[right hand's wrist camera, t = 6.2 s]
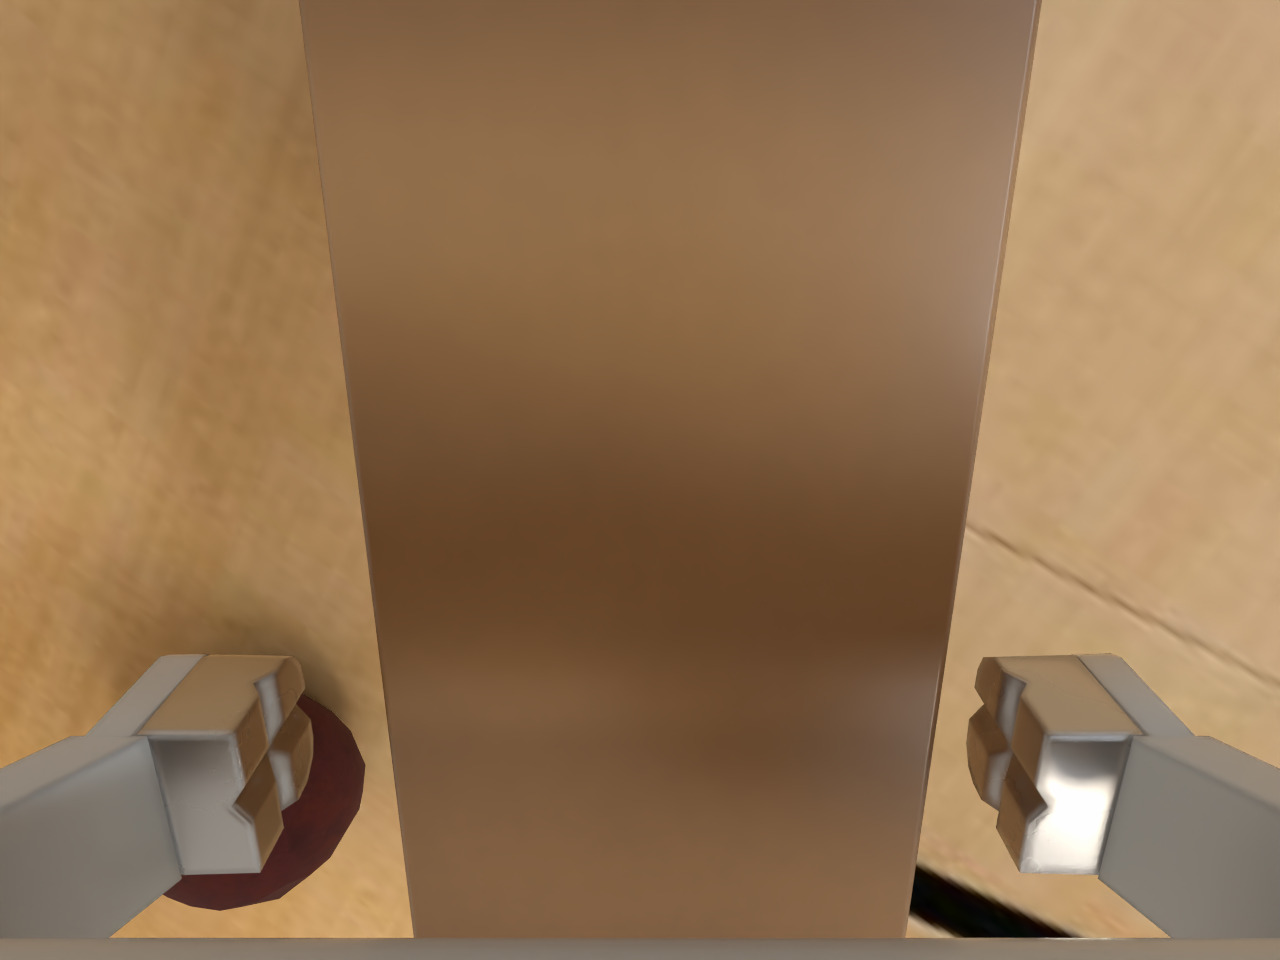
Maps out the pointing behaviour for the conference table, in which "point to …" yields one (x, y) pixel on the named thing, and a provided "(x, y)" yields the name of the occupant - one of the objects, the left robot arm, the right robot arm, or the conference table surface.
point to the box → (665, 437)
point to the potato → (295, 824)
